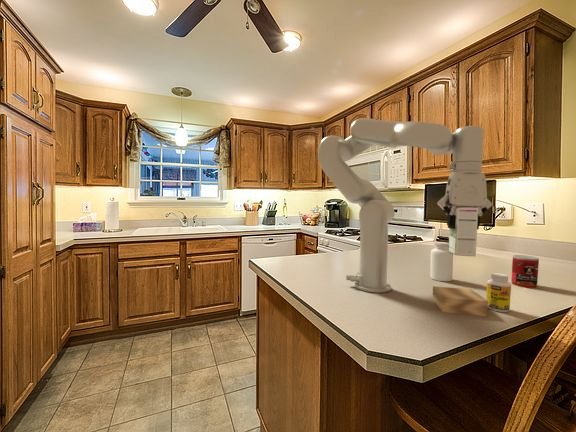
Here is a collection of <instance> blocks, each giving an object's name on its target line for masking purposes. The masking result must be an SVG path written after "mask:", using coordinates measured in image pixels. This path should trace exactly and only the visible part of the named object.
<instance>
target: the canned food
mask: <svg viewBox="0 0 576 432" xmlns="http://www.w3.org/2000/svg"><path fill="white" fill-rule="evenodd" d="M539 263H540V259H539V257H536V256H532V255H524V254H514V255H512V264H511V285H514V286H515V287H516V286H517V287H522V288H527V289H528V288H529V289H535V288H537V287H538V278H539V265H540V264H539Z"/></svg>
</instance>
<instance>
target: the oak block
mask: <svg viewBox="0 0 576 432" xmlns="http://www.w3.org/2000/svg"><path fill="white" fill-rule="evenodd" d="M431 299H432V301H433V302H434V303H435V304H436V306H437V307H438V308H439V309H440V310H441V311H442V313H450V314H461V315H469V316H470V315H471V316H479V317H480V316H481V317H482V316H483V317H488V308H487V307H488V301H487V300H486V298H484V297H483V296H481V295H480V294H479V293H477V292H476V291H475V290H473V289H472V288H460V287H446V286H432V297H431Z"/></svg>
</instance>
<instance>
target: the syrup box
mask: <svg viewBox="0 0 576 432" xmlns="http://www.w3.org/2000/svg"><path fill="white" fill-rule="evenodd" d="M454 215H455V216H456V223H455V228H454V229H452V228H449V229H448V230H449V231H448V232H449V233H448V243H449V250H448V252H450V253H452V254H453V256H459V257H474V258H475V257H476V254H477V253H476V252H477V242H478V241H477V239H478V237H477V235H478V230H477V221H478V208H473V207H467V206H458V207H457V208H456V211H455V213H454Z"/></svg>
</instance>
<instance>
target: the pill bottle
mask: <svg viewBox="0 0 576 432" xmlns="http://www.w3.org/2000/svg"><path fill="white" fill-rule="evenodd" d="M448 250H449V242H445V241H436V242H434V248H433V249H431V251H430V267H429V268H430V279H432V280H433V281H438V282H451V281H453V269H454V254H452V253H450V252H448Z"/></svg>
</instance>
